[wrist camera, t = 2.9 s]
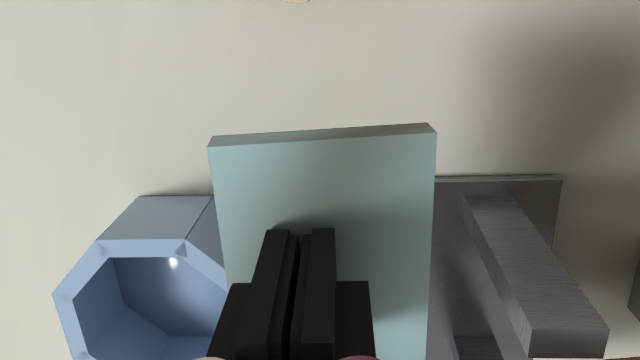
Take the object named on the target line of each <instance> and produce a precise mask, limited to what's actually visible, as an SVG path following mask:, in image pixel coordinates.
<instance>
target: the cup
mask: <svg viewBox="0 0 640 360" xmlns="http://www.w3.org/2000/svg"><path fill="white" fill-rule="evenodd" d="M227 295H228V287H227V280H226V273H225V266H224V259H223V253H222V246H221V239H220V232H219V226H218V219H217V212H216V205H215V198H214V196H213V195H197V196H139V197H138V198H137V199H136V200H135V201H134V202H133V203H132V204H131V205H130V206H129V207H128V208H127V209H126V210H125V211H124V212H123V213H122V214H121V215H120V216H119V217H118V218H117V219H116V220H115V221H114V222H113V223H112V224H111V225H110V226H109V227H108V228H107V229H106V230H105V231H104V232H103V233H102V234H101V235H100V236H99V237H98V238H97V239H96V240H95V242H94V243H93V244H92V245H91V246H90V248H89V249H88V250H87V251H86V252H85V254H84V255H83V256H82V257H81V258H80V260H79V261H78V262H77V263H76V264H75V266H74V267H73V268H72V269H71V271H70V272H69V273H68V274H67V275H66V277H65V278H64V279H63V280H62V281H61V283H60V284H59V285H58V286H57V287H56V289H55V290H54V291H53V292H52V297H53V300H54V303H55V306H56V309H57V312H58V315H59V318H60V321H61V324H62V327H63V331H64V334H65V337H66V340H67V343H68V346H69V349H70V352H71V355H72V358H73V359H74V360H194V359H198V358H202V357H206V354H207V351H208V349H209V346H210V343H211V340H212V337H213V334H214V332H215V329H216V326H217V323H218V320H219V318H220V315H221V312H222V309H223V306H224V304H225V301H226V298H227Z"/></svg>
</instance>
